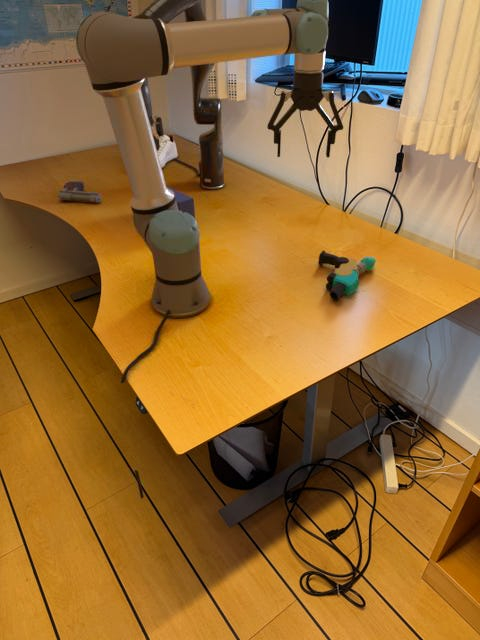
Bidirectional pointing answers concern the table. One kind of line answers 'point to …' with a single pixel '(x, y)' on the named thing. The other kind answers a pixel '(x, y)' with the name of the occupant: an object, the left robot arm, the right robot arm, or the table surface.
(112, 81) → the left robot arm
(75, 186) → the toy gun
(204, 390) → the table surface
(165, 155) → the sneaker
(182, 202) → the box
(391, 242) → the table surface
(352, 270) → the toy gun
